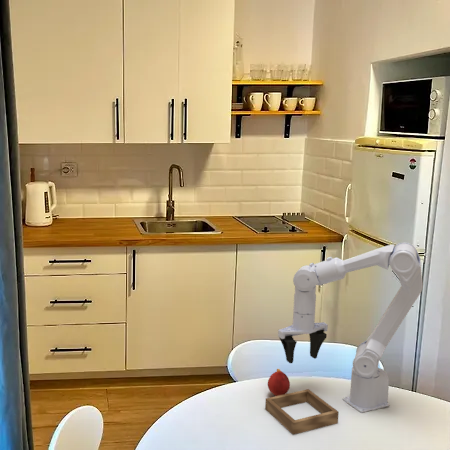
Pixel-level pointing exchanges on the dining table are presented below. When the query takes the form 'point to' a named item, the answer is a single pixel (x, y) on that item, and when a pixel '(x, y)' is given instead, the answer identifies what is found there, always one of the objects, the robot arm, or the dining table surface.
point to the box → (304, 424)
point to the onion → (278, 383)
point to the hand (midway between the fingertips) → (301, 359)
